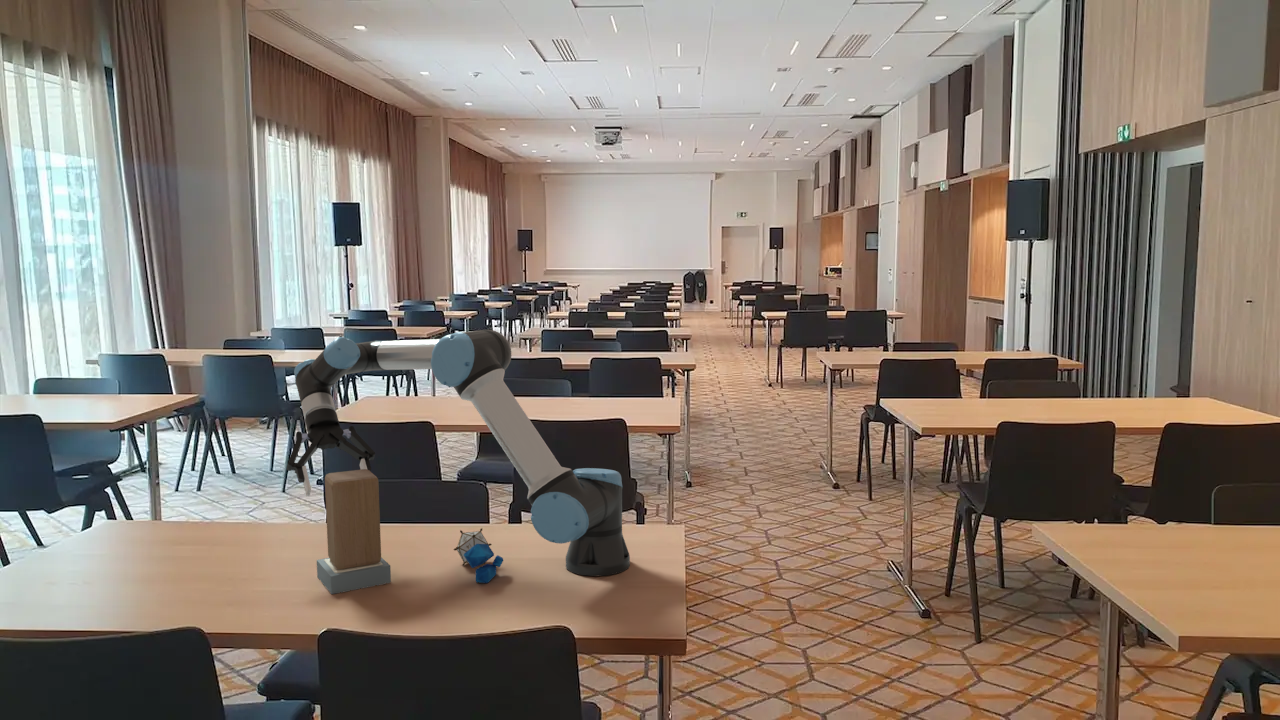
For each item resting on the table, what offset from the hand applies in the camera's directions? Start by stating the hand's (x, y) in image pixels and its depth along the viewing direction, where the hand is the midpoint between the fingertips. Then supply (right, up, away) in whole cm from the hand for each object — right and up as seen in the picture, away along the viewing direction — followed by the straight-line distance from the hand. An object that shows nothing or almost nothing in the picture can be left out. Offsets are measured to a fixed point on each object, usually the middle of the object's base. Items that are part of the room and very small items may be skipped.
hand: (338, 488), depth 211 cm
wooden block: (+6, -16, -7) cm, 18 cm away
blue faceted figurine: (+35, -20, -7) cm, 41 cm away
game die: (+31, -19, +4) cm, 36 cm away
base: (+6, -20, -7) cm, 22 cm away
